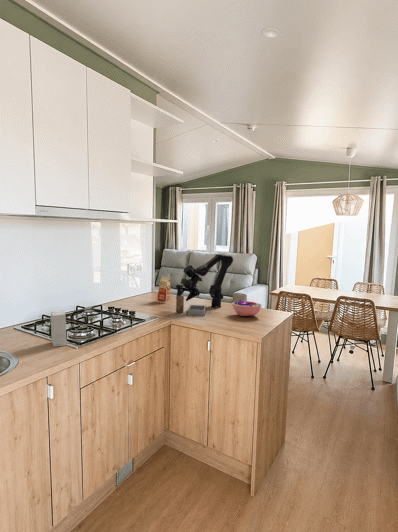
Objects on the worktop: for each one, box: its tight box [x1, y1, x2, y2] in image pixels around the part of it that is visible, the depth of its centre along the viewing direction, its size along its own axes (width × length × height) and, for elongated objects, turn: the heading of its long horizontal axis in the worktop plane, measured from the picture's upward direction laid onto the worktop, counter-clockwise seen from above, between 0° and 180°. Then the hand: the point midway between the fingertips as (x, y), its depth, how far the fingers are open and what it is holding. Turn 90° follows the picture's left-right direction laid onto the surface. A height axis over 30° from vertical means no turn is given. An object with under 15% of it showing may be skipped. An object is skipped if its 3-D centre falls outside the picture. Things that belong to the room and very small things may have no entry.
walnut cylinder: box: [175, 295, 185, 314], centre depth 228 cm, size 5×5×11 cm
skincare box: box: [50, 310, 68, 348], centre depth 159 cm, size 8×6×15 cm
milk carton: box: [156, 275, 172, 304], centre depth 260 cm, size 9×9×20 cm
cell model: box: [231, 298, 263, 317], centre depth 225 cm, size 17×20×11 cm
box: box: [187, 304, 207, 317], centre depth 229 cm, size 11×15×4 cm
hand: (181, 299), depth 228 cm, fingers open, 9 cm apart
